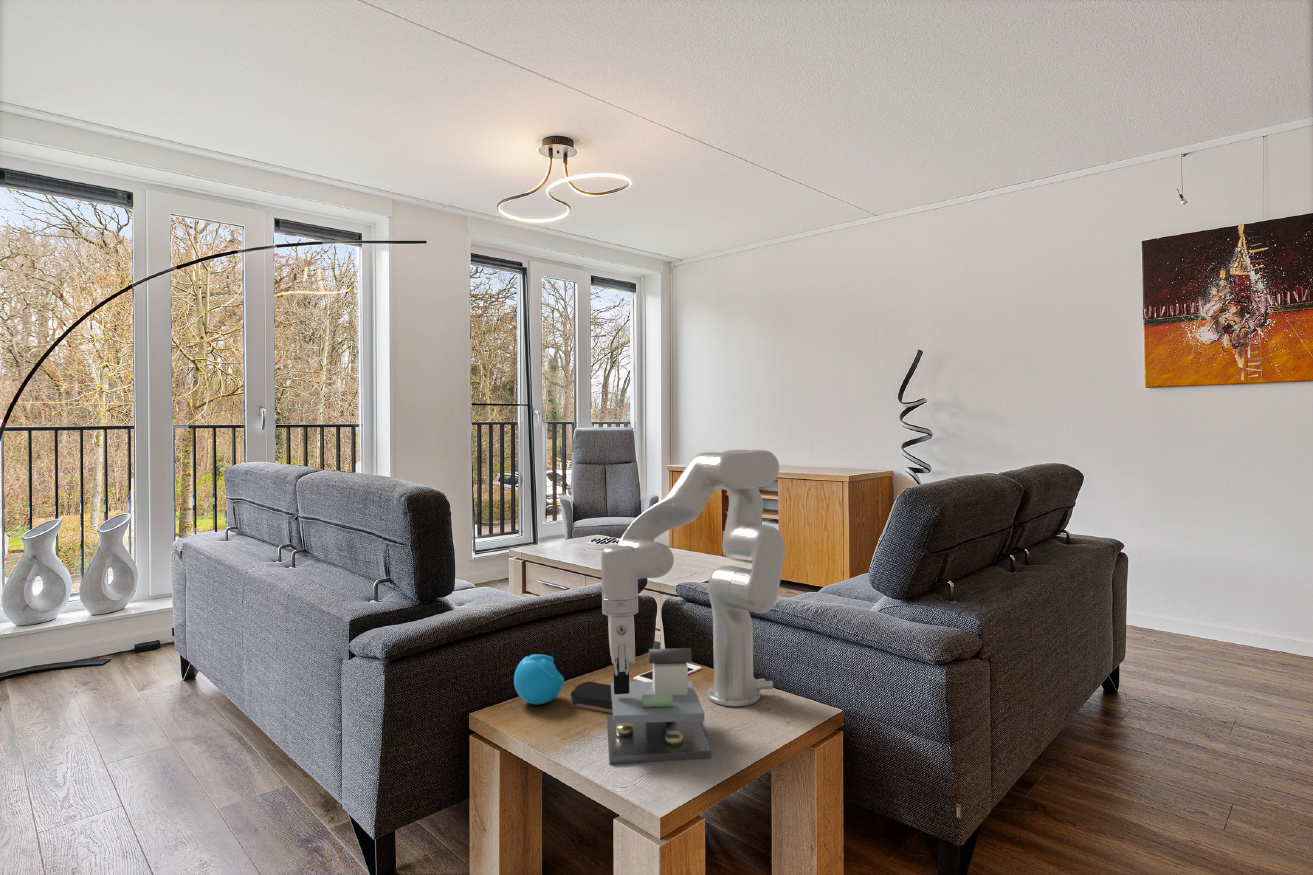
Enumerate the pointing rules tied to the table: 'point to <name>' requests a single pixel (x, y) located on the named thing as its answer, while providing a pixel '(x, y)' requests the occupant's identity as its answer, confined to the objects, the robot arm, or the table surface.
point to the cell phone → (649, 675)
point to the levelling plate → (642, 715)
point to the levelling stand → (655, 741)
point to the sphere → (537, 679)
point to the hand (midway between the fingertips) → (621, 692)
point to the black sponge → (592, 697)
